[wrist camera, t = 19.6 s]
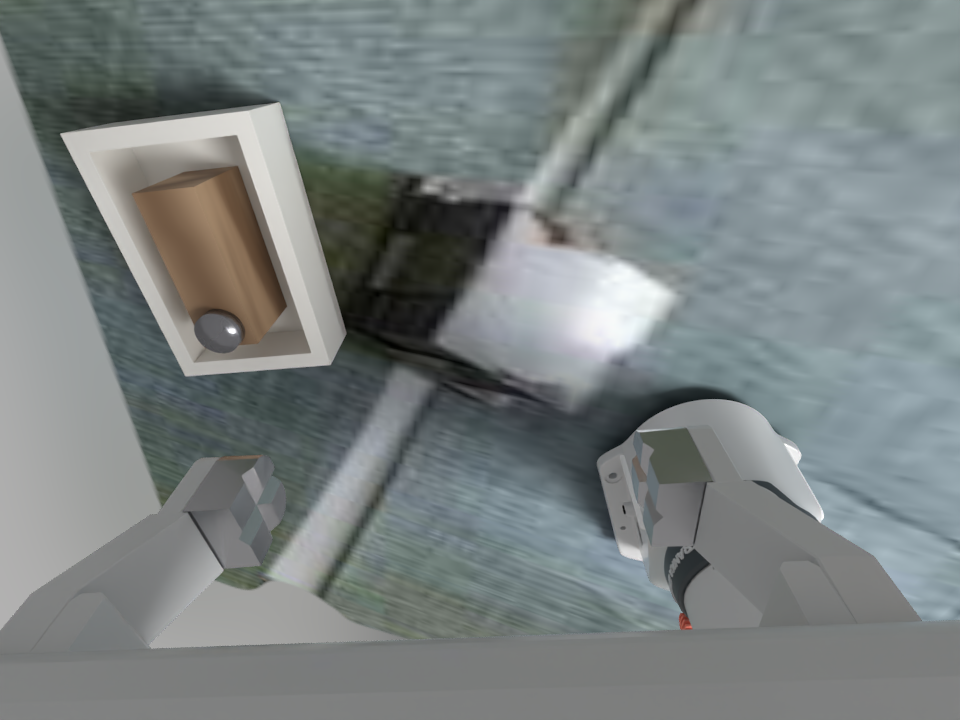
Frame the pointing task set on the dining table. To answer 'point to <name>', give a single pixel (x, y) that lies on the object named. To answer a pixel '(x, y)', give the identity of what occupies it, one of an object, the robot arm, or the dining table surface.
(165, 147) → the bin
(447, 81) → the dining table surface
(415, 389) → the dining table surface
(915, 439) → the dining table surface
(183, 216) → the strut
